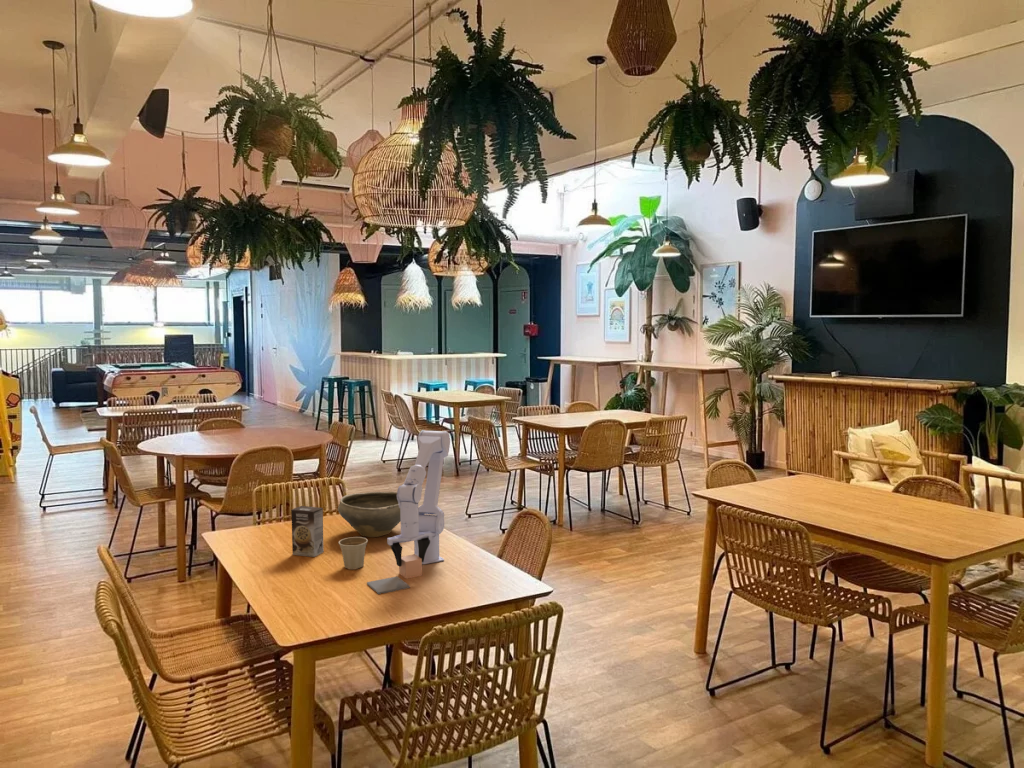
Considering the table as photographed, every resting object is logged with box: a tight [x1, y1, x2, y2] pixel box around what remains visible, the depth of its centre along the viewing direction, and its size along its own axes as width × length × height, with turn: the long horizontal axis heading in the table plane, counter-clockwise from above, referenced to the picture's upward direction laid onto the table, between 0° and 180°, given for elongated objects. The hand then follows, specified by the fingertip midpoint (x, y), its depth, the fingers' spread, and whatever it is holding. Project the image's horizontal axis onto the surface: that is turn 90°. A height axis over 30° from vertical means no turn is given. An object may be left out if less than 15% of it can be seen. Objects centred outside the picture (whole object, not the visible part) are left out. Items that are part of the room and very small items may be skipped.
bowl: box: [337, 491, 401, 538], centre depth 280 cm, size 28×28×14 cm
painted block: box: [398, 553, 423, 579], centre depth 234 cm, size 6×6×6 cm
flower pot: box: [338, 536, 369, 570], centre depth 242 cm, size 9×9×9 cm
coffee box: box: [290, 505, 324, 558], centre depth 256 cm, size 9×6×16 cm
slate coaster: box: [366, 576, 410, 595], centre depth 224 cm, size 10×10×1 cm
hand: (410, 563), depth 234 cm, fingers open, 7 cm apart
